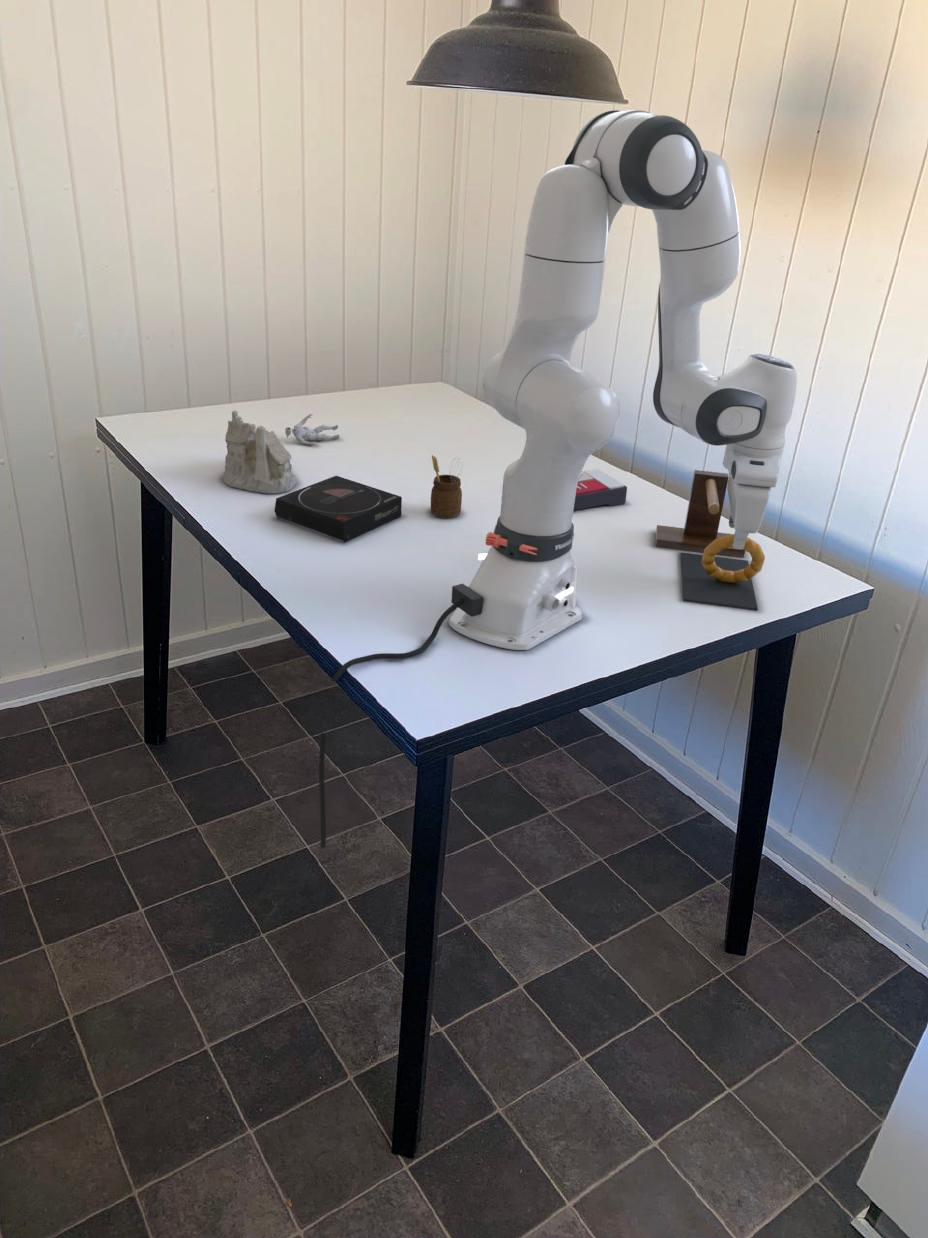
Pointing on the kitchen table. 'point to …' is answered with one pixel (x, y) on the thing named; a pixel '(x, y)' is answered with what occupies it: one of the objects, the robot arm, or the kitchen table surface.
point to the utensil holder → (446, 494)
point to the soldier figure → (310, 432)
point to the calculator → (598, 490)
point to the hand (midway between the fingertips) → (735, 536)
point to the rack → (700, 517)
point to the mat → (715, 583)
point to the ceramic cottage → (256, 459)
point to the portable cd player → (338, 508)
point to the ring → (732, 575)
